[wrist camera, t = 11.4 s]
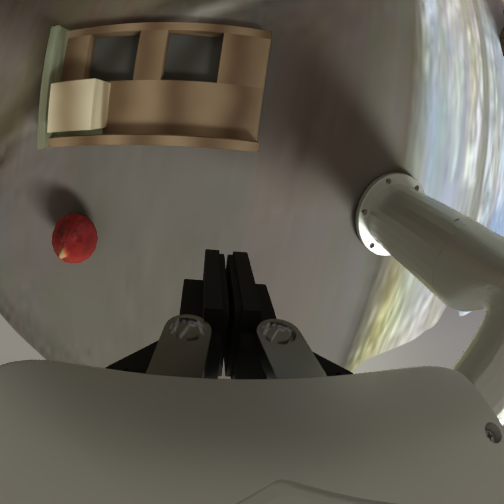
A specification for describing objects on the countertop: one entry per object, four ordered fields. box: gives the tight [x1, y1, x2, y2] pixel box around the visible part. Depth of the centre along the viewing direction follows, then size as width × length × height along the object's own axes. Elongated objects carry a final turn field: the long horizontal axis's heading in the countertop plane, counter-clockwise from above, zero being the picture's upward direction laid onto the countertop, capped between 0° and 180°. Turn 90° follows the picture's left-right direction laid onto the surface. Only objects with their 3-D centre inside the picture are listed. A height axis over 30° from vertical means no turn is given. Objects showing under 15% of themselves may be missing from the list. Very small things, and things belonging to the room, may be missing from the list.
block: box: [47, 78, 111, 133], centre depth 23 cm, size 5×5×5 cm
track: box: [37, 22, 272, 152], centre depth 25 cm, size 24×14×6 cm, turn 82°
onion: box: [52, 213, 98, 263], centre depth 30 cm, size 6×6×8 cm
